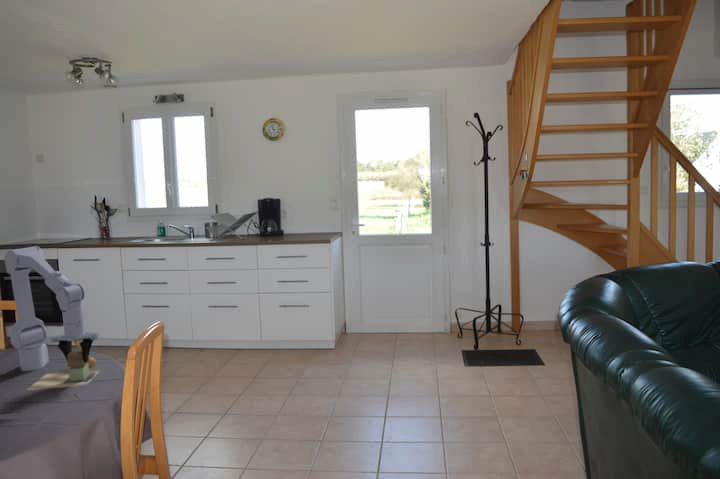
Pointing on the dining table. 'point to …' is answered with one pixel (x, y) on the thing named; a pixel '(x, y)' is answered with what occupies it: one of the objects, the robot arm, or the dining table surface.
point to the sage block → (79, 372)
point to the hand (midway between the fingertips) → (78, 361)
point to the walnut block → (75, 358)
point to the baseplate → (61, 380)
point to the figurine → (90, 360)
